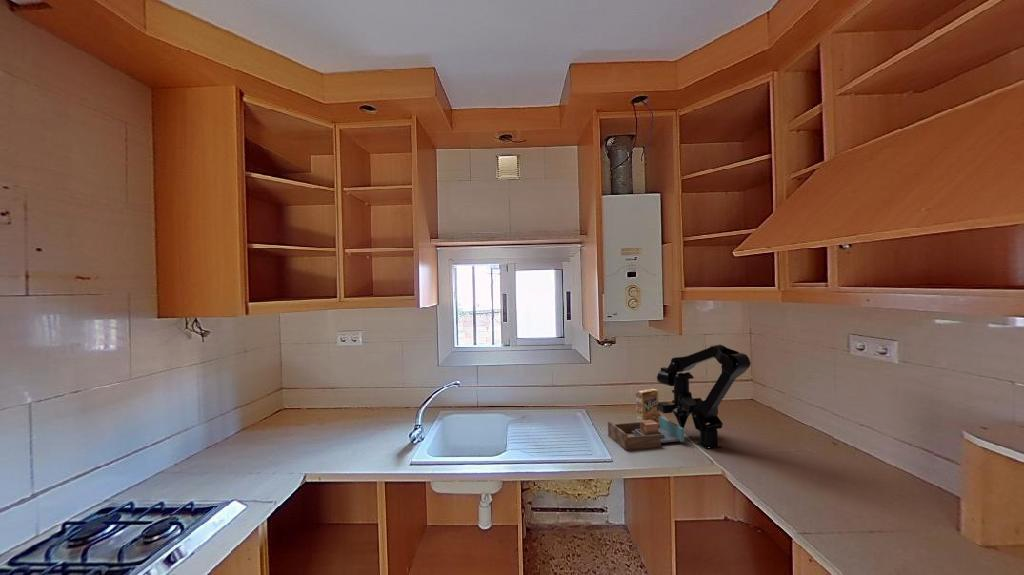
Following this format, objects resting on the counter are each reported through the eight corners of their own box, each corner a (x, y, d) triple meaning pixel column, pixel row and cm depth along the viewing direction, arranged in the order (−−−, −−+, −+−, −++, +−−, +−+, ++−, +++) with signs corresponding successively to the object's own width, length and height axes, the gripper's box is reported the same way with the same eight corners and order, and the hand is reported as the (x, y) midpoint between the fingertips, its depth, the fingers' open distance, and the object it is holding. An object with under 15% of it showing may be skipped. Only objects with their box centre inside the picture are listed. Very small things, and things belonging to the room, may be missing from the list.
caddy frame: (661, 446, 171) (661, 431, 171) (625, 450, 168) (625, 434, 168) (641, 432, 187) (641, 418, 187) (608, 436, 184) (607, 421, 184)
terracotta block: (658, 436, 177) (658, 423, 177) (646, 437, 176) (646, 424, 176) (652, 432, 182) (651, 419, 182) (640, 433, 181) (640, 420, 181)
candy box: (643, 429, 191) (642, 392, 191) (636, 426, 195) (635, 390, 195) (659, 426, 195) (658, 389, 195) (652, 423, 199) (651, 387, 199)
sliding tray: (684, 441, 173) (683, 428, 173) (648, 445, 170) (648, 431, 170) (662, 428, 189) (662, 416, 188) (629, 431, 186) (629, 419, 186)
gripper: (670, 395, 173) (671, 436, 173) (715, 391, 176) (716, 432, 176) (655, 388, 184) (656, 427, 184) (698, 385, 187) (699, 423, 187)
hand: (682, 428), depth 183 cm, fingers closed
